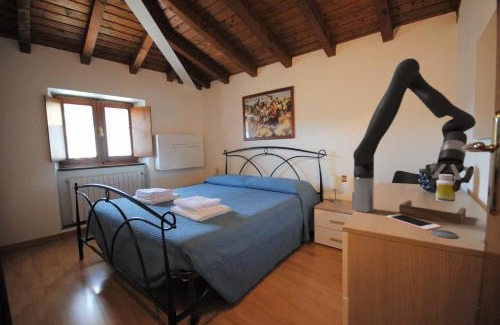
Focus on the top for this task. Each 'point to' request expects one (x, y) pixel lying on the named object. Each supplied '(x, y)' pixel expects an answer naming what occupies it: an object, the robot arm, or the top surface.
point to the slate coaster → (444, 234)
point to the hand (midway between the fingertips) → (444, 189)
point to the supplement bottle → (445, 188)
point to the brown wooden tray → (432, 213)
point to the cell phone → (413, 221)
